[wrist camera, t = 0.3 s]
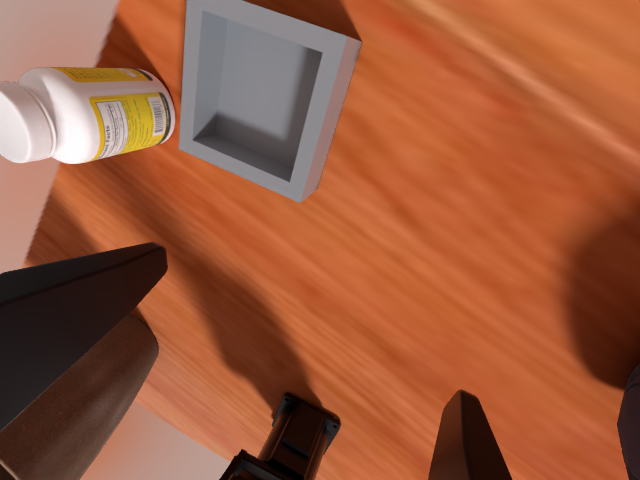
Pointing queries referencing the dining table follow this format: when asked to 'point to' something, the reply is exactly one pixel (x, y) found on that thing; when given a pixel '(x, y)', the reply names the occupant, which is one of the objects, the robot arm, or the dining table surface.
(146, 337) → the plant pot
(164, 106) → the supplement bottle
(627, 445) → the portable speaker
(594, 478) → the dining table surface
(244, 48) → the can holder
